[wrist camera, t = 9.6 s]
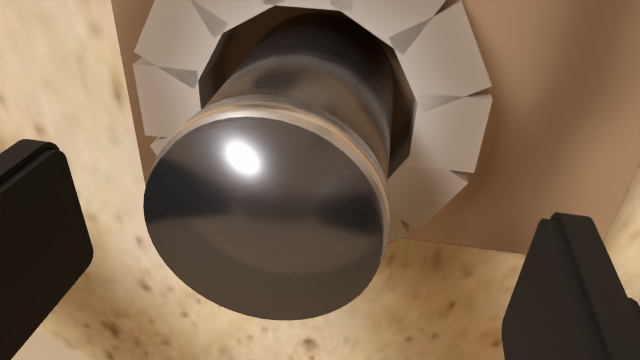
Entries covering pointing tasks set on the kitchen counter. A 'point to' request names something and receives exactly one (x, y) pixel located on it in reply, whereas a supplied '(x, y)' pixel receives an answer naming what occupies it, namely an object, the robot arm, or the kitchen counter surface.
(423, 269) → the kitchen counter surface
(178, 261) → the lens
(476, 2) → the mount board
